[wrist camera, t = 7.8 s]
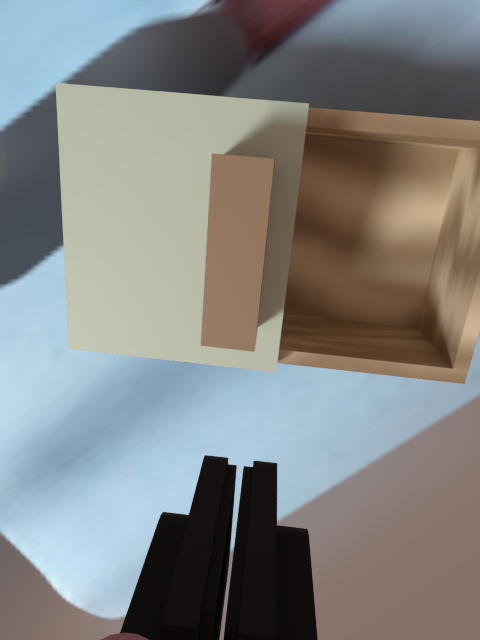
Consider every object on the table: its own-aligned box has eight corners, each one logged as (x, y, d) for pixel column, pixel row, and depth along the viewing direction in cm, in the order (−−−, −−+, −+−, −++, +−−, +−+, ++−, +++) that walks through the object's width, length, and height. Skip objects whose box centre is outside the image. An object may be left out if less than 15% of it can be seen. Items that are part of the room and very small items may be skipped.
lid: (65, 86, 25) (14, 67, 21) (307, 106, 25) (314, 91, 20) (76, 342, 31) (38, 374, 26) (276, 364, 30) (275, 402, 25)
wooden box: (283, 121, 34) (284, 105, 25) (470, 136, 33) (537, 125, 24) (262, 318, 39) (257, 360, 30) (423, 335, 38) (464, 383, 30)
